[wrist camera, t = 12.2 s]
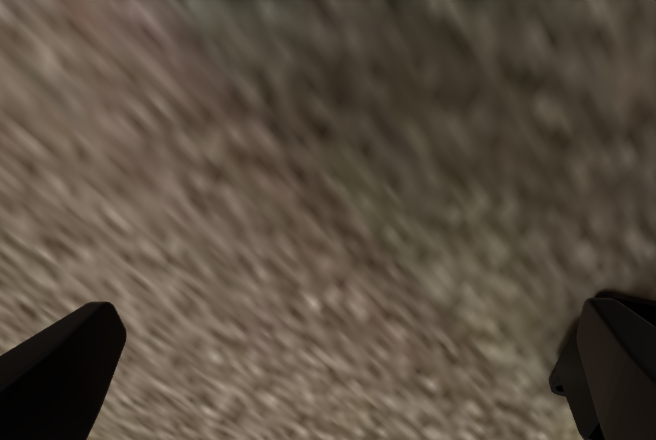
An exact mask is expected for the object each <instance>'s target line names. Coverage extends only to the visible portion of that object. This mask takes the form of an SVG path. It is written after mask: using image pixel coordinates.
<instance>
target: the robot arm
mask: <svg viewBox="0 0 656 440" xmlns="http://www.w3.org/2000/svg"><path fill="white" fill-rule="evenodd" d="M125 342H126V329H125V327H124V325H123V323H122V321H121V319H120V317H119V315H118V313H117V311H116V309H115V307H114V306H113V304H111V303H110V302H90V303H87V304H85V305H84V306H82V307H80V308H79V309H77V310H76V311H74V312H72V313H71V314H69V315H67V316H66V317H64V318H62V319H61V320H59V321H57V322H56V323H54V324H52V325H51V326H49V327H47V328H46V329H44V330H42V331H41V332H39V333H37V334H36V335H34V336H33V337H31V338H29V339H28V340H26V341H24V342H23V343H21V344H19V345H18V346H16V347H14V348H13V349H11V350H9V351H8V352H6V353H4V354H3V355H1V356H0V440H86V439H87V437H88V435H89V433H90V431H91V429H92V427H93V425H94V423H95V420H96V418H97V416H98V414H99V412H100V409H101V407H102V404H103V402H104V399H105V396H106V394H107V391H108V388H109V386H110V383H111V380H112V377H113V375H114V372H115V369H116V367H117V364H118V361H119V358H120V356H121V353H122V350H123V348H124V345H125ZM555 368H556V369H555V371H554V372H553V374H552V376H551V378H550V380H549V385H550V388H551V391H552V392H553V393H554V394H557V395H561V396H565V397H566V398H567V401H568V403H569V406H570V409H571V412H572V414H573V417H574V420H575V423H576V425H577V428H578V431H579V433H580V435H581V436H582V438H583V439H584V440H656V301H651V300H646V299H641V298H636V297H631V296H627V295H622V294H617V293H612V292H604V293H601V294H599V295H598V296H597V297H596V298H589V299H587V300H586V301H585V303H584V305H583V309H582V313H581V317H580V322H579V326H578V329H576V330H575V331H574V332H573V334H572V336H571V338H570V340H569V341H568V343H567V345H566V347H565V348H564V350H563V352H562V354H561V356H560V357H559V359H558V361H557V363H556V365H555ZM558 385H560V386H558Z"/></svg>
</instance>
